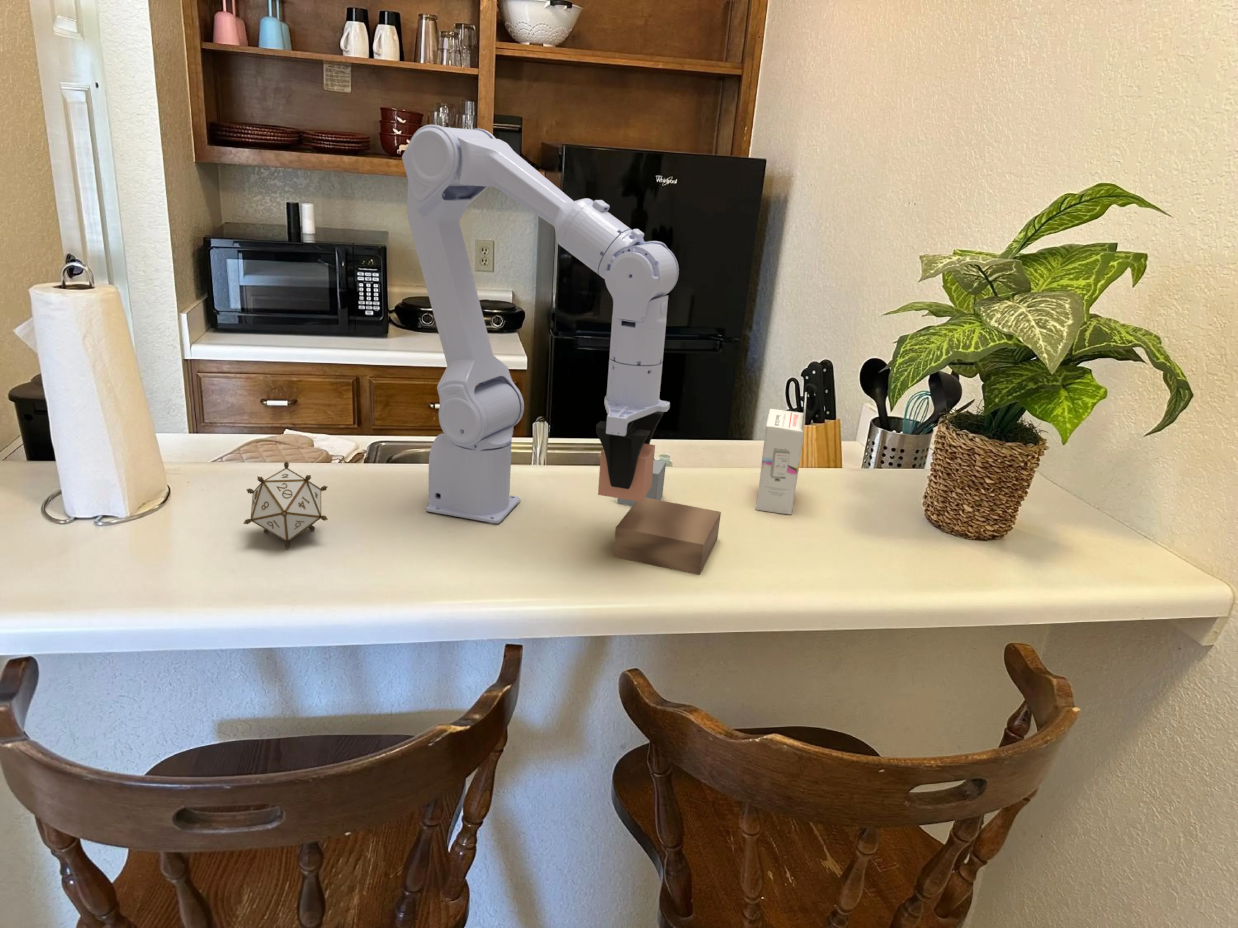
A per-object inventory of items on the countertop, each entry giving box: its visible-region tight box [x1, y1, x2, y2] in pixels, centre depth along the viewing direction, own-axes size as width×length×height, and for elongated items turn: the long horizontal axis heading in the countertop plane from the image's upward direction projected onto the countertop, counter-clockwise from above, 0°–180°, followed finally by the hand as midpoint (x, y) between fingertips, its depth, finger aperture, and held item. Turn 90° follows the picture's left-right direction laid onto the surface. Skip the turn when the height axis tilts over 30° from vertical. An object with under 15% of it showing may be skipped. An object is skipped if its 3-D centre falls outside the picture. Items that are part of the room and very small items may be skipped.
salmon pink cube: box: [597, 444, 656, 502], centre depth 98 cm, size 5×5×5 cm
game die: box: [242, 460, 329, 550], centre depth 95 cm, size 9×8×10 cm
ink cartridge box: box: [755, 391, 808, 516], centre depth 115 cm, size 9×5×15 cm, turn 168°
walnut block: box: [612, 498, 722, 576], centre depth 101 cm, size 10×10×4 cm
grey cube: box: [617, 459, 667, 507], centre depth 114 cm, size 5×5×5 cm
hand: (626, 478), depth 98 cm, fingers closed on salmon pink cube, 5 cm apart
